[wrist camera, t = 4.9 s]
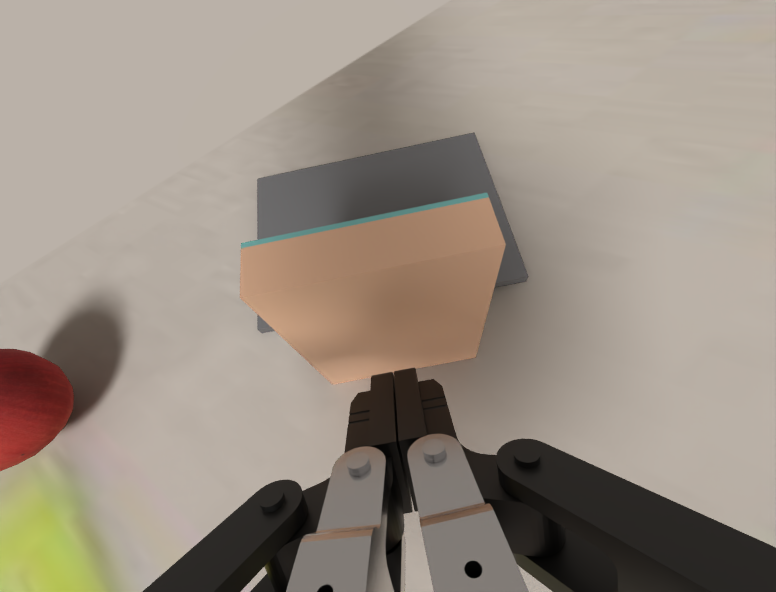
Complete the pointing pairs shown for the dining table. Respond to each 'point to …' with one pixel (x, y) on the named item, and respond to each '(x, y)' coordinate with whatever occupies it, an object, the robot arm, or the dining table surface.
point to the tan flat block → (380, 287)
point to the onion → (30, 405)
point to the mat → (383, 193)
